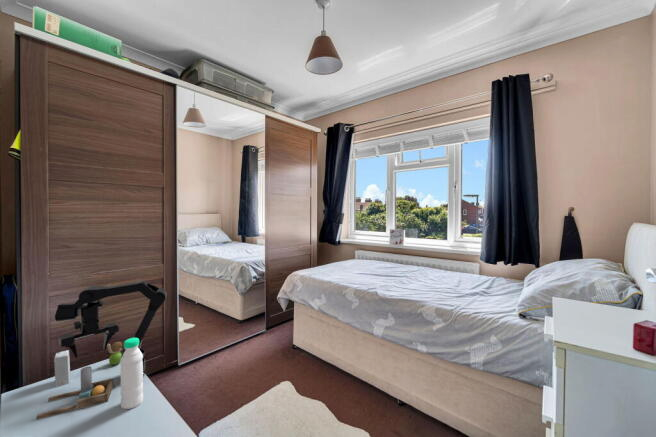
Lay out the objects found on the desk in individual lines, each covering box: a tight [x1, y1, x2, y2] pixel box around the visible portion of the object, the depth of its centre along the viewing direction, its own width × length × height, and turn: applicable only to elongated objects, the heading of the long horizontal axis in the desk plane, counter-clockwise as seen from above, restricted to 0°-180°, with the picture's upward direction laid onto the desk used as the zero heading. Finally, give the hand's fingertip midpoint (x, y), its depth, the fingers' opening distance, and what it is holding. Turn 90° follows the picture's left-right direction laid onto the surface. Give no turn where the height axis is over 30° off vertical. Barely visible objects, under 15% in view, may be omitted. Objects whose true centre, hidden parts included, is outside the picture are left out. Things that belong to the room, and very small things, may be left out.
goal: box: [35, 378, 115, 420], centre depth 107 cm, size 20×11×3 cm, turn 118°
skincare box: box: [53, 349, 71, 387], centre depth 118 cm, size 6×4×12 cm
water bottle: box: [119, 337, 144, 410], centre depth 106 cm, size 7×7×25 cm
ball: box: [91, 385, 105, 396], centre depth 110 cm, size 4×4×4 cm
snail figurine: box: [106, 341, 123, 366], centre depth 131 cm, size 5×6×12 cm
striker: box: [78, 366, 93, 400], centre depth 108 cm, size 3×6×12 cm, turn 29°
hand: (90, 353), depth 117 cm, fingers open, 9 cm apart
